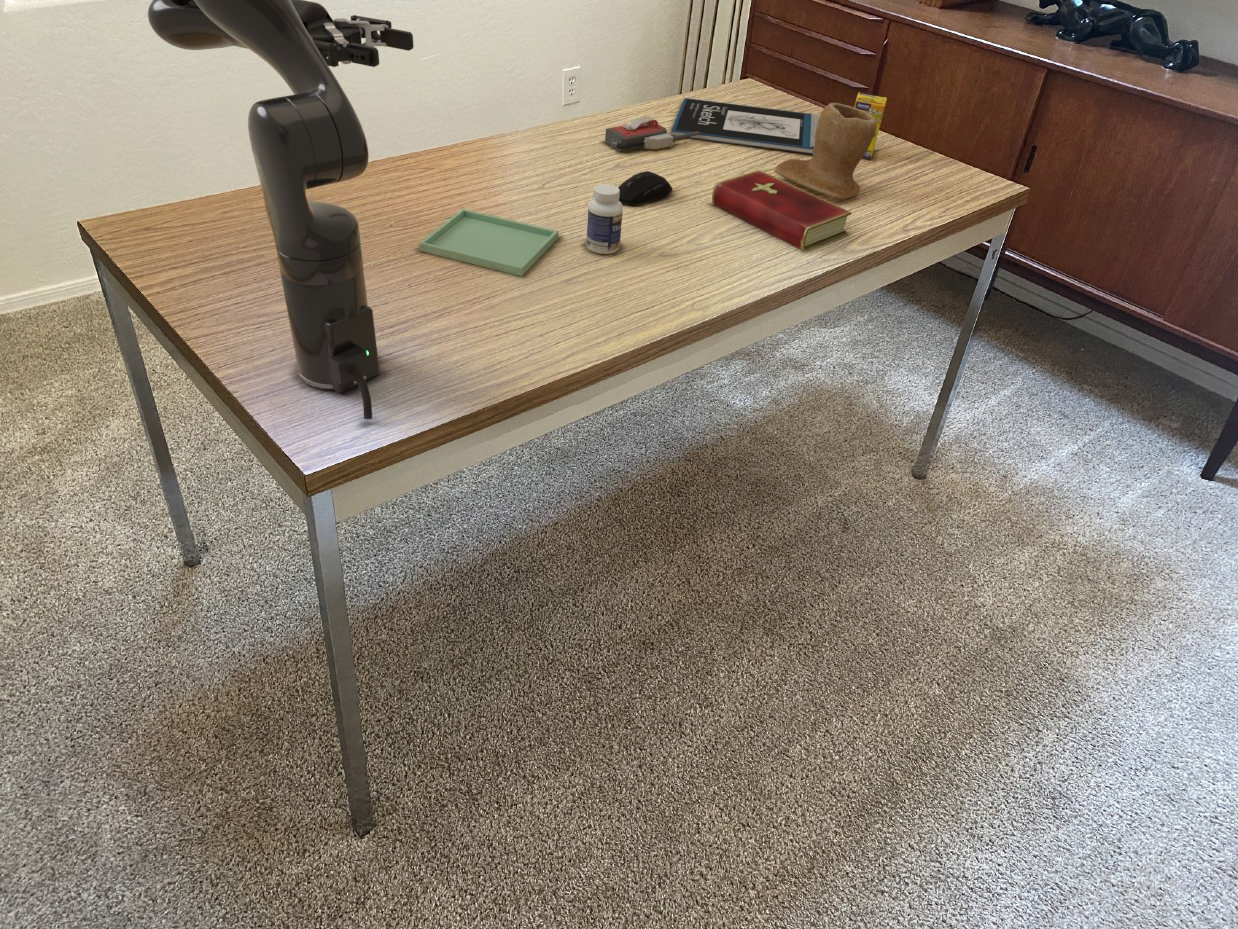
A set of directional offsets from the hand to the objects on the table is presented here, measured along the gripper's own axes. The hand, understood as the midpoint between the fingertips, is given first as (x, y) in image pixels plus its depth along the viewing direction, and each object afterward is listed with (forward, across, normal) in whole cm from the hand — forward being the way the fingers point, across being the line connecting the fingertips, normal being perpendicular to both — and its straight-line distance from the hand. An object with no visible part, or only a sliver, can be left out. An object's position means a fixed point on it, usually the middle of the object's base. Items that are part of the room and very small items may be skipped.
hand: (395, 49), depth 116 cm
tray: (+8, +10, +30) cm, 33 cm away
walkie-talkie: (+16, +66, +30) cm, 74 cm away
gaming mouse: (+23, +39, +30) cm, 54 cm away
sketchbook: (+32, +84, +30) cm, 95 cm away
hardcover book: (+48, +43, +30) cm, 71 cm away
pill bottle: (+24, +18, +30) cm, 43 cm away
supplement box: (+56, +83, +30) cm, 105 cm away
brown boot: (+52, +61, +30) cm, 86 cm away
